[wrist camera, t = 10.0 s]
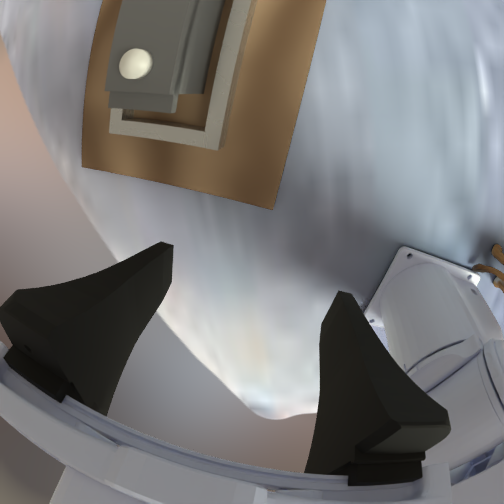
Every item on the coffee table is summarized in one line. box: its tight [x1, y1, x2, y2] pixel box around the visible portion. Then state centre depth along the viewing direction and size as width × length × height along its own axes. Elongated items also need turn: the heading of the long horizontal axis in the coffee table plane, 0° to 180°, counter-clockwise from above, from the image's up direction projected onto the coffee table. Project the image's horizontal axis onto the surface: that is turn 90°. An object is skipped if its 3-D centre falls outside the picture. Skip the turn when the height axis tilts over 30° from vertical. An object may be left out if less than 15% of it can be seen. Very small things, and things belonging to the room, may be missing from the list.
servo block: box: [105, 0, 226, 113], centre depth 11 cm, size 4×9×6 cm, turn 168°
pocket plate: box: [82, 0, 326, 210], centre depth 14 cm, size 16×20×2 cm
